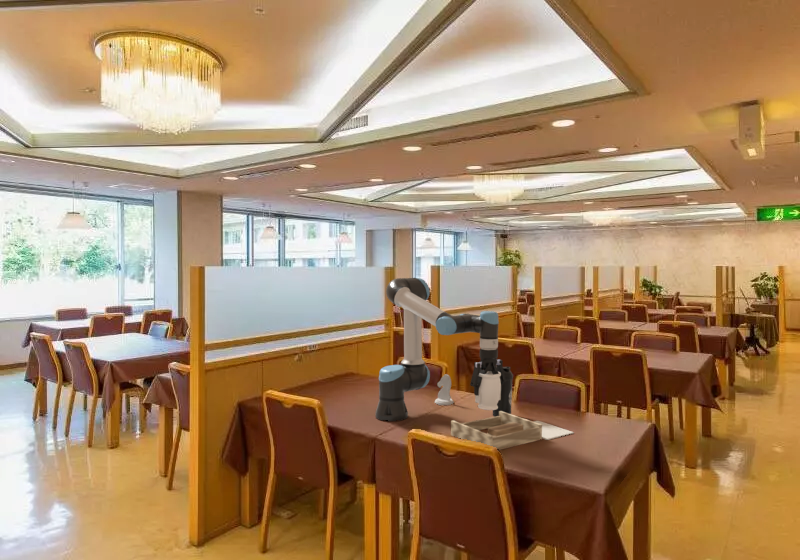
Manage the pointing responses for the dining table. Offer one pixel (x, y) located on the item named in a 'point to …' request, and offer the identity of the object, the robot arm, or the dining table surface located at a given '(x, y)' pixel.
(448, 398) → the chess piece
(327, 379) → the dining table surface
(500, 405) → the water bottle
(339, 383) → the dining table surface
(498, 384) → the jar
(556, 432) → the mat
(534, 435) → the rack
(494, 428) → the offcut stack
